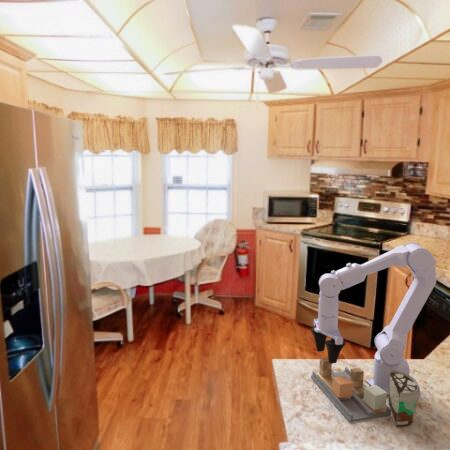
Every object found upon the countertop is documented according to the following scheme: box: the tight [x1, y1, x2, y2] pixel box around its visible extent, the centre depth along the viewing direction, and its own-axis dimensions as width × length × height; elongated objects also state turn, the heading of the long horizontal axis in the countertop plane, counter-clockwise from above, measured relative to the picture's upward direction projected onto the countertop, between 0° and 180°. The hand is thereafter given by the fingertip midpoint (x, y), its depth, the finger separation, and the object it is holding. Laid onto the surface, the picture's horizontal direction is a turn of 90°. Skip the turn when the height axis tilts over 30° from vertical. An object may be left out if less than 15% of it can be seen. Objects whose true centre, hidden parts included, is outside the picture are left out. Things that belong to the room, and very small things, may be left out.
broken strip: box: [350, 367, 387, 414], centre depth 106 cm, size 4×12×6 cm, turn 13°
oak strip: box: [316, 357, 351, 400], centre depth 112 cm, size 4×12×6 cm, turn 13°
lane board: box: [310, 366, 392, 423], centre depth 110 cm, size 12×22×2 cm, turn 13°
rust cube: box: [332, 376, 353, 398], centre depth 108 cm, size 4×4×4 cm
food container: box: [387, 370, 421, 428], centre depth 100 cm, size 12×6×10 cm, turn 168°
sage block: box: [363, 385, 388, 410], centre depth 103 cm, size 4×4×4 cm
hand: (326, 356), depth 117 cm, fingers open, 7 cm apart
